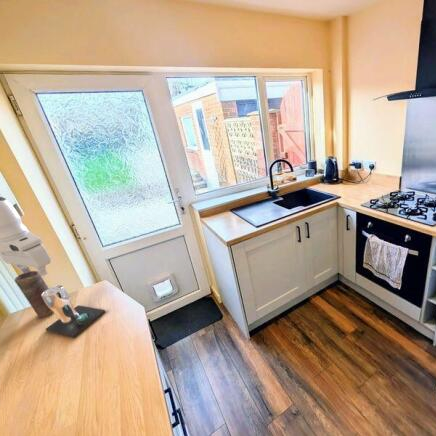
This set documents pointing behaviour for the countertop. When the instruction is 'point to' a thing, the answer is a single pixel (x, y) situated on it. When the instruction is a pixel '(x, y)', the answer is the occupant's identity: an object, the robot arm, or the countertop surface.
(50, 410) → the countertop surface
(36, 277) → the candle
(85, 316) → the button
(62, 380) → the countertop surface
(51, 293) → the beer glass
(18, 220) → the robot arm
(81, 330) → the scale
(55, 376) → the countertop surface
